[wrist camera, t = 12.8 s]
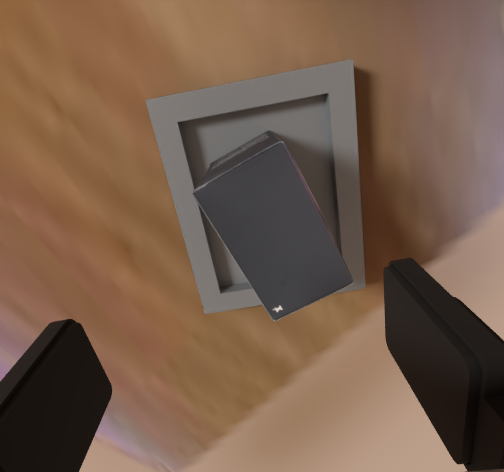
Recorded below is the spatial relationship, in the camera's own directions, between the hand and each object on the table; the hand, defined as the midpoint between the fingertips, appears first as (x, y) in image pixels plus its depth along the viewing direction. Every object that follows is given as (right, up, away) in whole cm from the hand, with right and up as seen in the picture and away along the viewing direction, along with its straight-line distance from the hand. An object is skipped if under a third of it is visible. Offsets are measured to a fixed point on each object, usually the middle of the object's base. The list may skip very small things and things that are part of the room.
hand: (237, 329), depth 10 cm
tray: (+2, +6, +20) cm, 21 cm away
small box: (+2, +6, +20) cm, 21 cm away
